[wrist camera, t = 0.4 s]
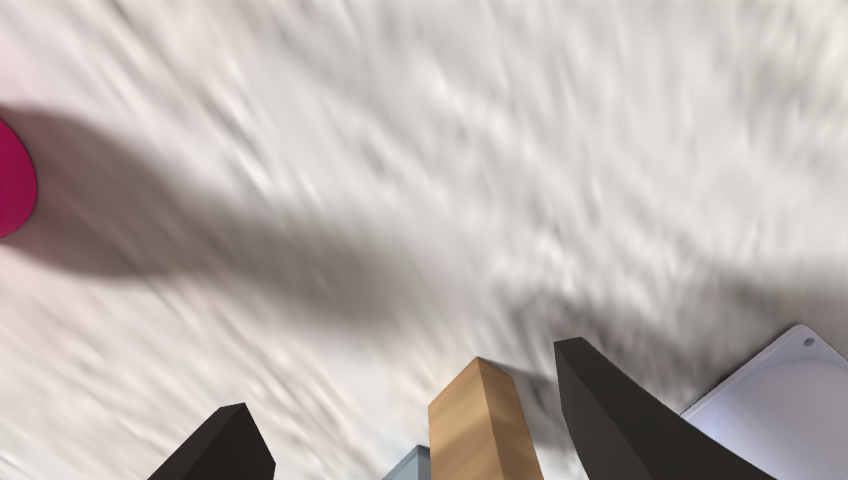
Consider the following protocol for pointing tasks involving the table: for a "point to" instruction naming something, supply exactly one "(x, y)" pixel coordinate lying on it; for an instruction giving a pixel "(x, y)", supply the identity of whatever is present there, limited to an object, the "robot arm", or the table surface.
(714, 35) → the table surface
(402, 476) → the blue-grey square tray
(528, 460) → the block
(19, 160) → the pepper mill
